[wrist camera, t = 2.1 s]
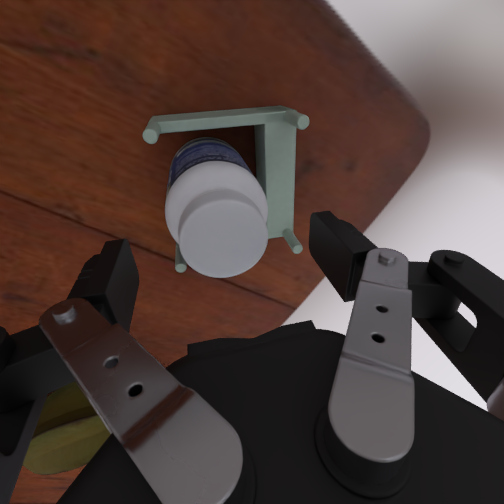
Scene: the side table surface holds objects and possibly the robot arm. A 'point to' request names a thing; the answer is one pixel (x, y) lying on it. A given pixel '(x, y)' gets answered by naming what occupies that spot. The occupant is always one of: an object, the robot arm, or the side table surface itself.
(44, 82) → the side table surface
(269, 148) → the rack
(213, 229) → the pill bottle
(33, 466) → the fruit
